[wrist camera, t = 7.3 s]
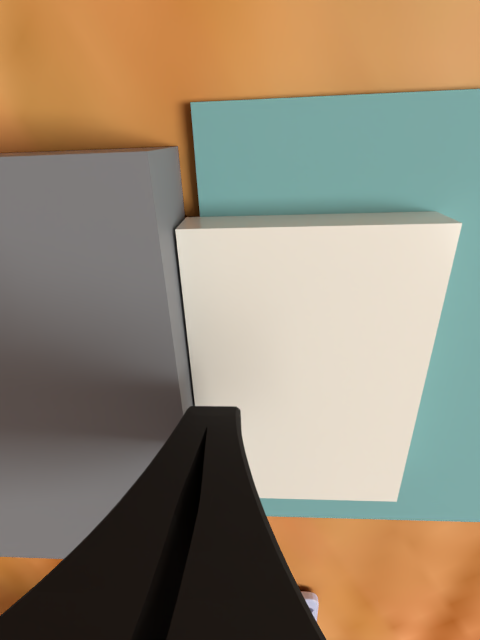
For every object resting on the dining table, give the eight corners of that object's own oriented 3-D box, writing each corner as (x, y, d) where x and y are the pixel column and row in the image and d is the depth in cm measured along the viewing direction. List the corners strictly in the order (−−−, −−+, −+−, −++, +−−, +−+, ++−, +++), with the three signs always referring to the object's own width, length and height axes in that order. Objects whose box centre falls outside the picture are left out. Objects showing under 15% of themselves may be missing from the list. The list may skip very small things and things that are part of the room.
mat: (512, 516, 16) (516, 522, 16) (225, 508, 17) (225, 515, 17) (710, 79, 9) (725, 77, 9) (192, 103, 10) (190, 102, 9)
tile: (384, 468, 15) (396, 501, 13) (210, 464, 15) (205, 496, 14) (436, 211, 10) (462, 223, 9) (186, 217, 11) (175, 229, 9)
